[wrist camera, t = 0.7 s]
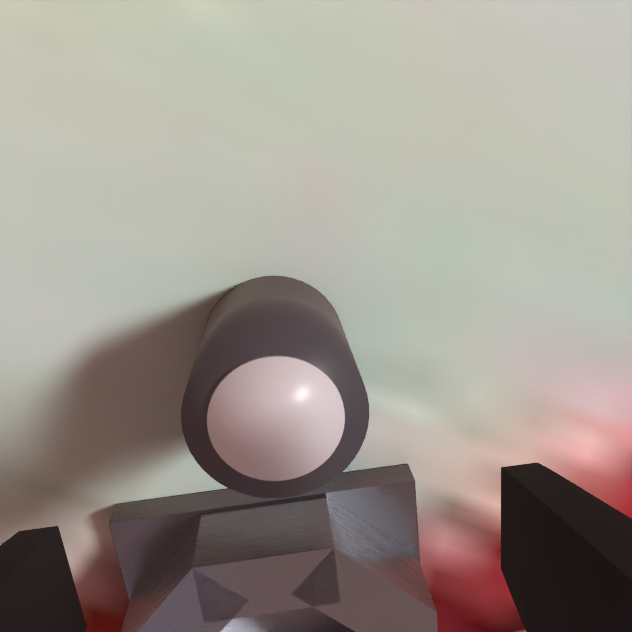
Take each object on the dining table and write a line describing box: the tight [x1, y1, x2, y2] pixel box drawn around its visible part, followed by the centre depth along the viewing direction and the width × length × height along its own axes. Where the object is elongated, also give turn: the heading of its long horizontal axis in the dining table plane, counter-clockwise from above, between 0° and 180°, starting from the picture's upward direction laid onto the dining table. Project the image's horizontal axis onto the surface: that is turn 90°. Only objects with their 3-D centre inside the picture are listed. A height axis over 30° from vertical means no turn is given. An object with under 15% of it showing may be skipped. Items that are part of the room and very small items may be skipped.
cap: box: [181, 276, 369, 498], centre depth 16 cm, size 4×4×5 cm
